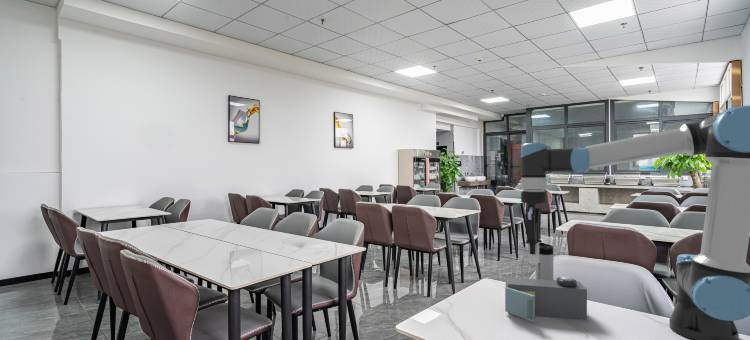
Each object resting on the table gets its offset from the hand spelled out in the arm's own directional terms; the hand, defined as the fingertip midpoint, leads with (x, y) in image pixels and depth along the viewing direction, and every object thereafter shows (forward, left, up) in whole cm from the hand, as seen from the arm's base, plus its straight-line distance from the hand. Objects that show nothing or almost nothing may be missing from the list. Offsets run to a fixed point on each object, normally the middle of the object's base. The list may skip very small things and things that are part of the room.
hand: (533, 262), depth 117 cm
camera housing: (-4, -7, -18) cm, 20 cm away
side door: (+5, +1, -17) cm, 18 cm away
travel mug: (-7, -23, -19) cm, 31 cm away
